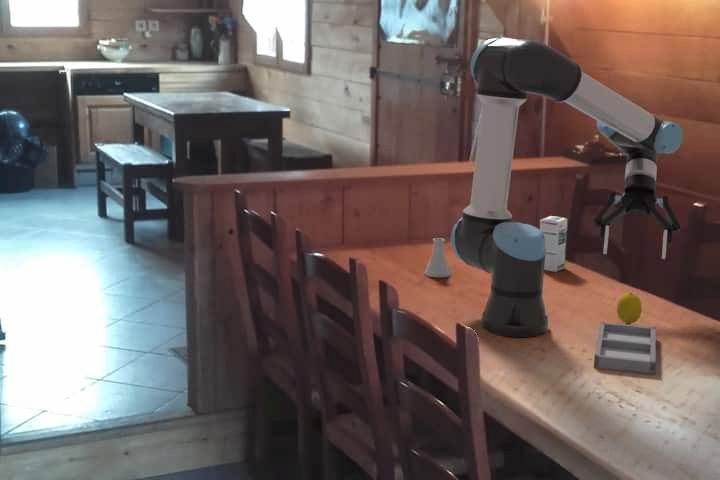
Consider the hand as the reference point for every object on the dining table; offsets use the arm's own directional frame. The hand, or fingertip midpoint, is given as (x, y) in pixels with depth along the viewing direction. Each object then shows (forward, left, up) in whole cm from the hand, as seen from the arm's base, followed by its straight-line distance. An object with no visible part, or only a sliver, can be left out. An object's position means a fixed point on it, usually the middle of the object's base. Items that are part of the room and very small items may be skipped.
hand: (634, 253), depth 234 cm
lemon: (-9, -6, -15) cm, 18 cm away
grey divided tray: (-24, -18, -15) cm, 33 cm away
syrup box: (+13, +38, -15) cm, 43 cm away
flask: (-18, +51, -15) cm, 56 cm away
